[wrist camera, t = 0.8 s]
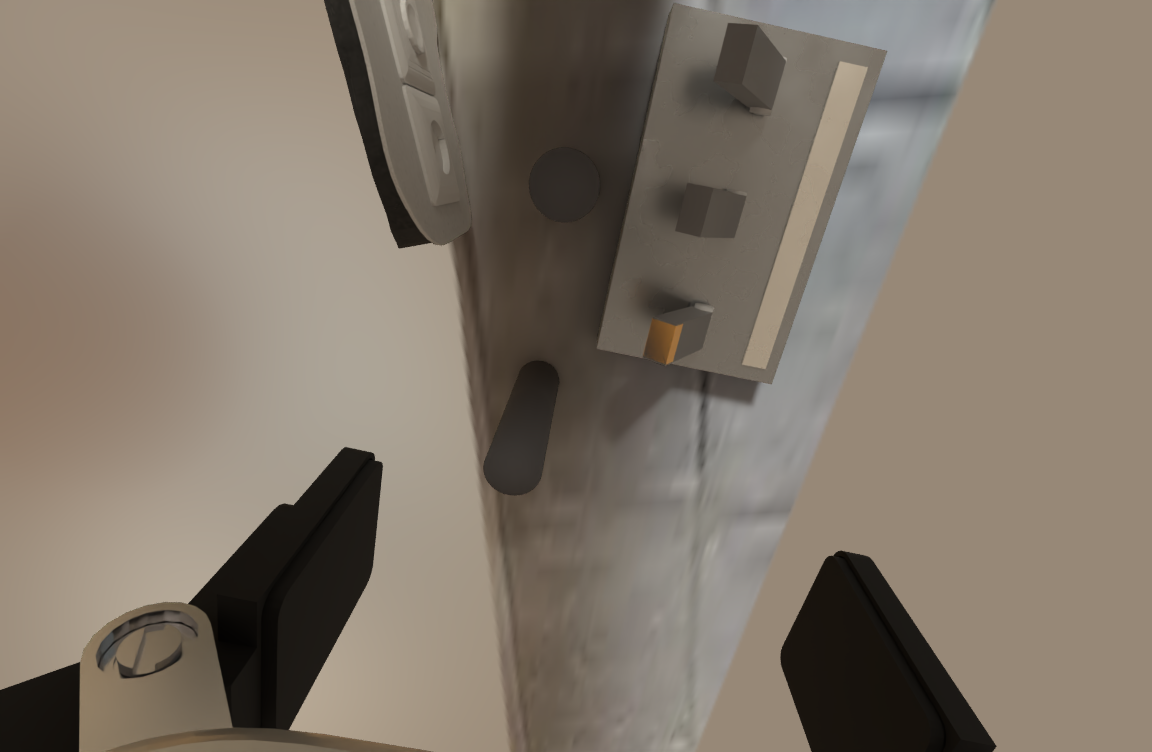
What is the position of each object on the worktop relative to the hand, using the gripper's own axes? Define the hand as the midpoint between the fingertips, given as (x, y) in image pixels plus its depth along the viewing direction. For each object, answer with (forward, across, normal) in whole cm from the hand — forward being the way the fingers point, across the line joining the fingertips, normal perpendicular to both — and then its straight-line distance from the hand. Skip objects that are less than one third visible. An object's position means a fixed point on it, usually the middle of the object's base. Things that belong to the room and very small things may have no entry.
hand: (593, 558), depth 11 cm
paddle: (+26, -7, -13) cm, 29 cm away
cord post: (+28, +2, +8) cm, 29 cm away
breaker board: (+28, -7, -6) cm, 30 cm away
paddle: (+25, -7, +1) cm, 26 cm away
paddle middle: (+25, -7, -6) cm, 27 cm away
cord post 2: (+29, +3, -6) cm, 29 cm away
